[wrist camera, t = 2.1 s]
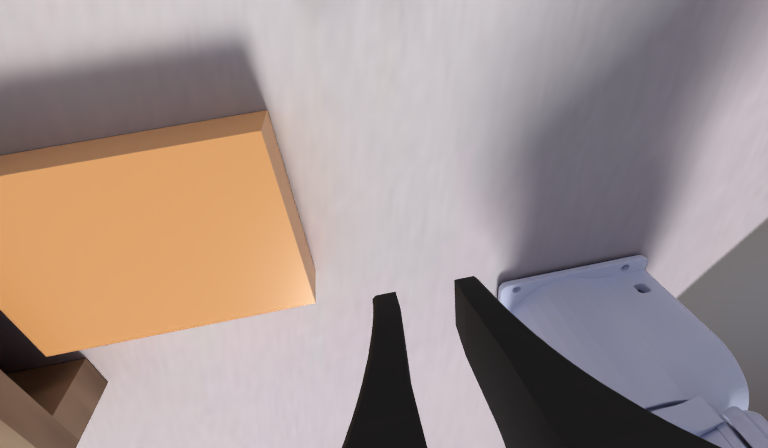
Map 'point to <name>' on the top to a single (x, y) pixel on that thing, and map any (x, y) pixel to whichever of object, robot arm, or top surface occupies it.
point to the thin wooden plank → (149, 234)
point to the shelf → (48, 404)
